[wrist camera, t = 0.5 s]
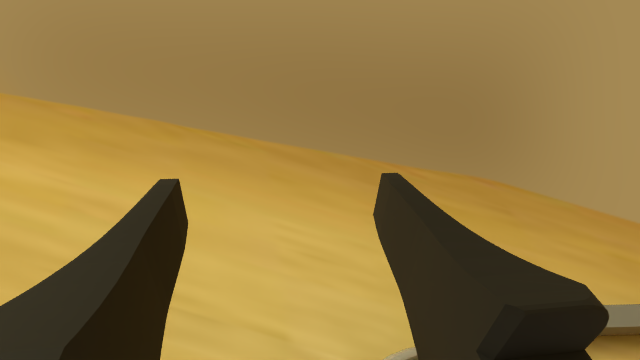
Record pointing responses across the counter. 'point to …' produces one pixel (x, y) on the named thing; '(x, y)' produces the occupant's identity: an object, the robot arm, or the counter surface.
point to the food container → (404, 355)
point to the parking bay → (622, 320)
